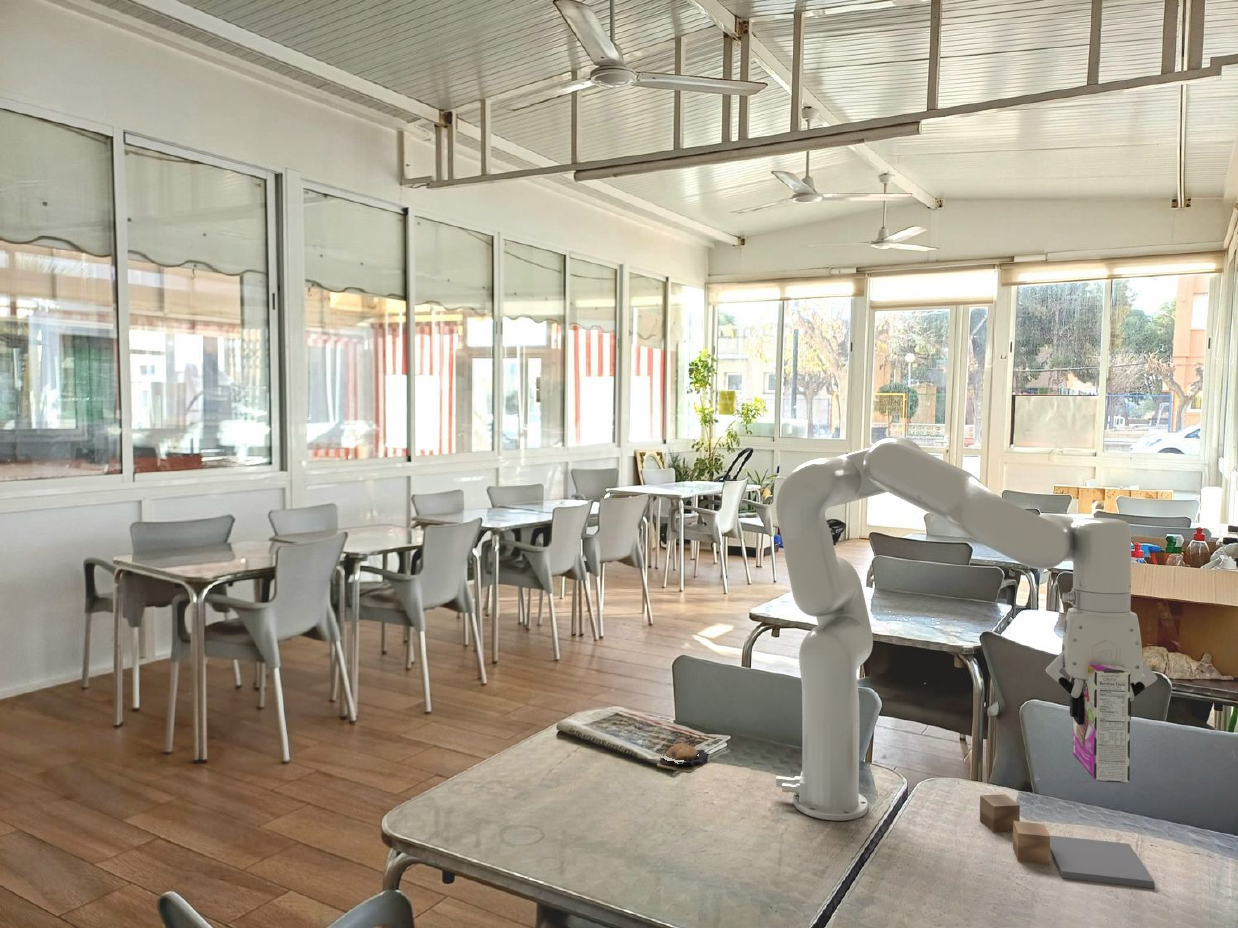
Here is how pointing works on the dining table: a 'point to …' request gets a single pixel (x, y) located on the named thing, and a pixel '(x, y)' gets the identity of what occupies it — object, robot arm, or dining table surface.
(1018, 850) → the light brown wooden cube
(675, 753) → the bread roll
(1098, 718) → the candy bar box
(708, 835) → the dining table surface
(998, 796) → the dark oak block
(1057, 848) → the charcoal mat
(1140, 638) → the robot arm
